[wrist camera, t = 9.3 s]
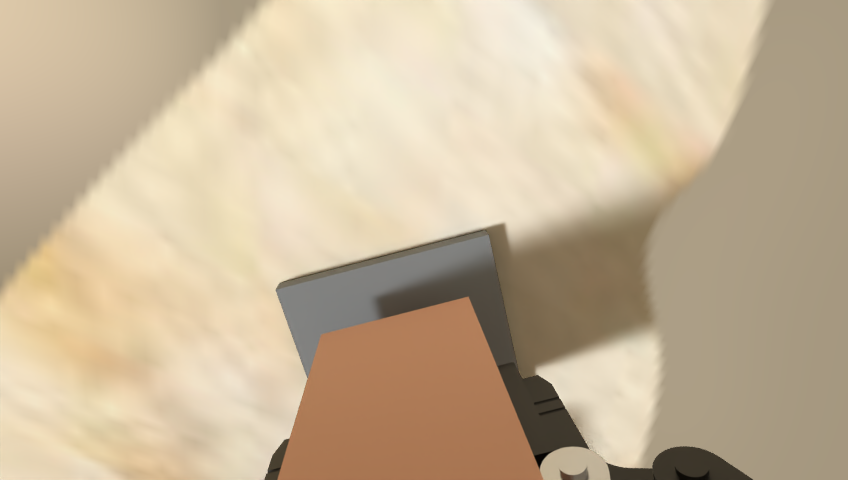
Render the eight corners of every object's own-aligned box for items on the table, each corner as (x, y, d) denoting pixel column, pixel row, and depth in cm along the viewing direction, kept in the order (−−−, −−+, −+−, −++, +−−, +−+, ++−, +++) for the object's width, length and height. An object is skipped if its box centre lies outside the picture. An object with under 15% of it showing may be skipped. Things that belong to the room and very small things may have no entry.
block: (468, 296, 14) (559, 520, 7) (498, 422, 16) (605, 733, 8) (321, 334, 14) (241, 601, 7) (362, 456, 16) (335, 801, 8)
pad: (524, 407, 18) (528, 417, 17) (340, 454, 18) (339, 466, 17) (485, 230, 16) (488, 234, 15) (279, 283, 16) (275, 289, 15)
